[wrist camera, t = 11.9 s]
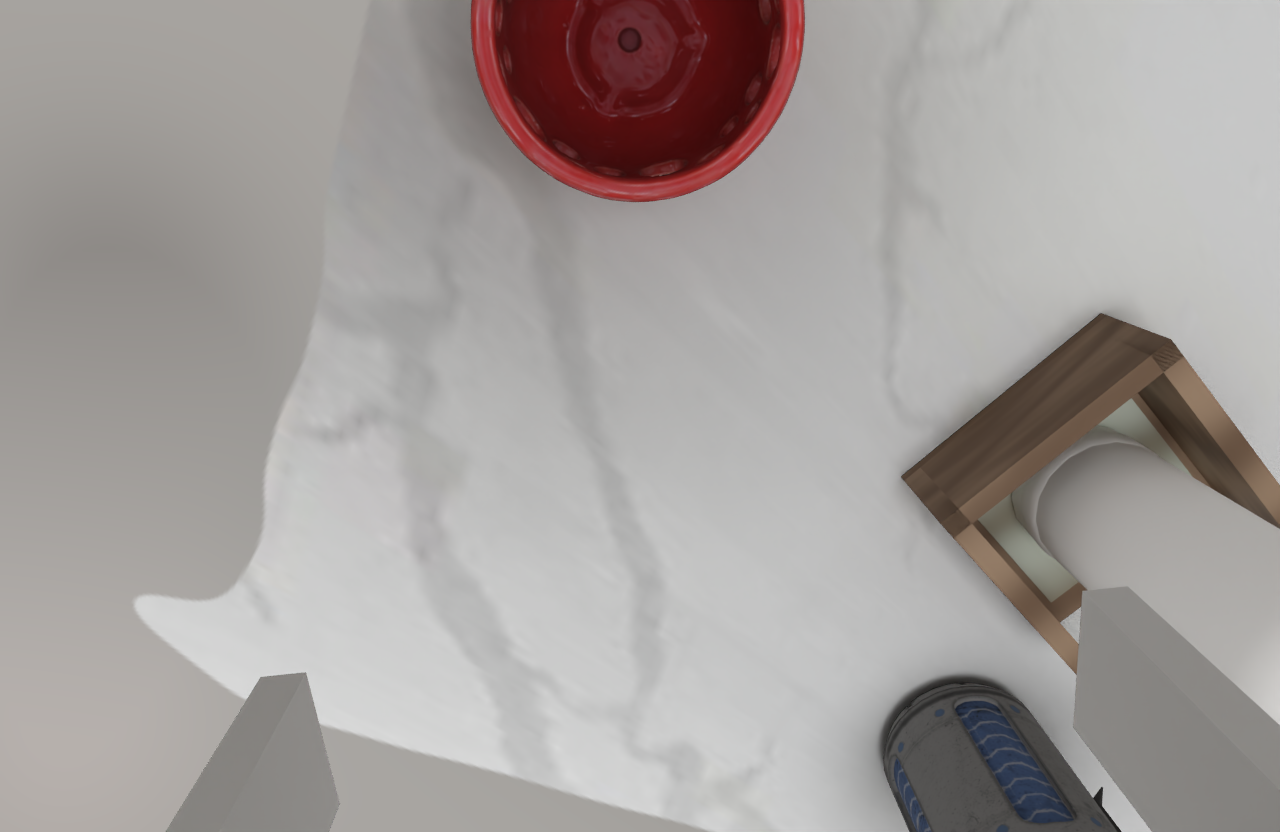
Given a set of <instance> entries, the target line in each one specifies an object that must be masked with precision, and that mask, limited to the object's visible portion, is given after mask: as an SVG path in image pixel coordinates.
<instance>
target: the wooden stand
mask: <svg viewBox="0 0 1280 832" xmlns="http://www.w3.org/2000/svg"><path fill="white" fill-rule="evenodd" d="M1095 426H1102V427H1108V428H1111V429H1112V430H1114V431H1116V432H1117V433H1120V434H1124V435H1126V436H1128V437H1130V438H1131V439H1133V440H1135V441H1136V442H1138V443H1140V444H1141V445H1143V446H1145V447H1146V448H1148V449H1149V450H1151V451H1153V452H1154V453H1156V454H1157V455H1158V456H1159V458H1161V459H1163V460H1165V461H1166V462H1168V463H1170V464H1171V465H1173V466H1175V467H1176V468H1178V469H1180V470H1181V471H1183V472H1185V473H1186V474H1188V475H1190V476H1191V477H1193V478H1195V479H1196V480H1198V481H1200V482H1202V483H1203V484H1205V485H1207V486H1208V487H1210V488H1212V489H1213V490H1215V491H1217V492H1218V493H1220V494H1222V495H1223V496H1225V497H1227V498H1228V499H1230V500H1232V501H1233V502H1235V503H1237V504H1239V505H1240V506H1242V507H1244V508H1245V509H1247V510H1249V511H1250V512H1252V513H1254V514H1255V515H1257V516H1259V517H1260V518H1262V519H1264V520H1265V521H1267V522H1269V523H1270V524H1272V525H1274V526H1275V527H1277V528H1279V529H1280V485H1279V484H1278V482H1277V481H1276V480H1275V478H1274V477H1273V475H1272V474H1271V473H1270V471H1269V470H1268V469H1267V467H1266V466H1265V465H1264V463H1263V462H1262V461H1261V459H1260V458H1259V457H1258V455H1257V454H1256V453H1255V451H1254V450H1253V449H1252V447H1251V446H1250V445H1249V443H1248V442H1247V441H1246V439H1245V438H1244V437H1243V435H1242V434H1241V433H1240V431H1239V430H1238V429H1237V427H1236V426H1235V425H1234V423H1233V422H1232V421H1231V419H1230V418H1229V416H1228V415H1227V414H1226V412H1225V411H1224V410H1223V408H1222V407H1221V406H1220V404H1219V403H1218V402H1217V400H1216V399H1215V398H1214V396H1213V395H1212V394H1211V392H1210V391H1209V390H1208V388H1207V387H1206V386H1205V384H1204V383H1203V382H1202V380H1201V379H1200V378H1199V376H1198V375H1197V374H1196V372H1195V371H1194V370H1193V368H1192V367H1191V366H1190V364H1189V363H1188V362H1187V360H1186V359H1185V357H1184V356H1183V355H1182V353H1181V352H1180V351H1179V349H1178V348H1177V347H1176V345H1175V344H1174V343H1173V341H1172V340H1171V339H1169V338H1166V337H1163V336H1160V335H1158V334H1155V333H1152V332H1150V331H1147V330H1144V329H1142V328H1139V327H1136V326H1134V325H1131V324H1128V323H1126V322H1123V321H1120V320H1118V319H1115V318H1112V317H1110V316H1107V315H1104V314H1102V313H1101V314H1100V315H1099V316H1097V317H1096V318H1095V319H1094V320H1092V321H1091V322H1090V323H1089V324H1087V325H1086V326H1085V327H1084V328H1083V329H1081V330H1080V331H1079V332H1078V333H1076V334H1075V335H1074V336H1073V337H1072V338H1070V339H1069V340H1068V341H1067V342H1065V343H1064V344H1063V345H1062V346H1061V347H1059V348H1058V349H1057V350H1056V351H1054V352H1053V353H1052V354H1051V355H1050V356H1048V357H1047V358H1046V359H1045V360H1043V361H1042V362H1041V363H1040V364H1038V365H1037V366H1036V367H1035V368H1034V369H1032V370H1031V371H1030V372H1029V373H1027V374H1026V375H1025V376H1024V377H1023V378H1021V379H1020V380H1019V381H1018V382H1016V383H1015V384H1014V385H1013V386H1012V387H1010V388H1009V389H1008V390H1007V391H1005V392H1004V393H1003V394H1002V395H1001V396H999V397H998V398H997V399H996V400H994V401H993V402H992V403H991V404H990V405H988V406H987V407H986V408H985V409H983V410H982V411H981V412H980V413H978V414H977V415H976V416H975V417H974V418H972V419H971V420H970V421H969V422H967V423H966V424H965V425H964V426H963V427H961V428H960V429H959V430H958V431H956V432H955V433H954V434H953V435H952V436H950V437H949V438H948V439H947V440H945V441H944V442H943V443H942V444H941V445H939V446H938V447H937V448H936V449H934V450H933V451H932V452H931V453H929V454H928V455H927V456H926V457H925V458H923V459H922V460H921V461H920V462H918V463H917V464H916V465H915V466H914V467H912V468H911V469H910V470H909V471H907V472H906V473H905V474H904V475H903V476H901V477H902V479H903V480H904V481H905V482H906V483H907V485H908V486H909V487H910V488H911V489H912V490H913V492H914V493H915V494H916V495H917V496H918V497H919V499H920V500H921V501H922V502H923V503H924V505H925V506H926V507H927V508H928V509H929V510H930V512H931V513H932V514H933V515H934V516H935V518H936V519H937V520H938V521H939V522H940V523H941V525H942V526H943V527H944V528H945V529H946V530H947V531H948V532H949V533H950V535H951V536H952V537H953V538H954V539H955V540H956V541H957V542H958V543H959V545H960V546H961V547H962V548H963V549H964V550H965V551H966V552H967V553H968V555H969V556H970V557H971V558H972V559H973V560H974V561H975V562H976V563H977V565H978V566H979V567H980V568H981V569H982V570H983V571H984V572H985V573H986V575H987V576H988V577H989V578H990V579H991V580H992V581H993V582H994V583H995V585H996V586H997V587H998V588H999V589H1000V590H1001V591H1002V592H1003V594H1004V595H1005V596H1006V597H1007V598H1008V599H1009V600H1010V601H1011V602H1012V604H1013V605H1014V606H1015V607H1016V608H1017V609H1018V610H1019V611H1020V612H1021V614H1022V615H1023V616H1024V617H1025V618H1026V619H1027V620H1028V621H1029V622H1030V624H1031V625H1032V626H1033V627H1034V628H1035V629H1036V630H1037V631H1038V632H1039V634H1040V635H1041V636H1042V637H1043V638H1044V639H1045V640H1046V641H1047V642H1048V644H1049V645H1050V646H1051V647H1052V648H1053V649H1054V650H1055V651H1056V652H1057V654H1058V655H1059V656H1060V657H1061V658H1062V659H1063V660H1064V661H1065V662H1066V664H1067V665H1068V666H1069V667H1070V668H1071V669H1072V670H1073V671H1074V672H1075V674H1076V675H1077V663H1078V648H1079V644H1078V643H1077V642H1076V641H1075V640H1074V638H1073V637H1072V636H1071V635H1070V634H1069V633H1068V632H1067V631H1066V629H1065V628H1064V627H1063V626H1062V625H1061V624H1060V622H1061V621H1062V620H1064V619H1065V618H1066V617H1068V616H1069V615H1070V614H1072V613H1073V612H1074V611H1076V610H1077V609H1078V608H1080V607H1081V604H1082V591H1087V589H1086V588H1085V587H1084V586H1083V585H1082V584H1081V583H1080V582H1079V581H1078V580H1077V579H1075V578H1074V577H1073V576H1072V575H1071V574H1070V573H1069V572H1068V571H1067V570H1066V569H1065V568H1064V567H1063V566H1062V565H1061V564H1060V563H1059V562H1058V561H1057V560H1056V559H1054V558H1052V557H1051V556H1049V555H1048V554H1047V553H1046V552H1045V551H1044V550H1043V549H1041V547H1040V546H1039V545H1038V544H1037V543H1036V541H1035V540H1034V539H1033V537H1032V536H1031V535H1030V534H1029V533H1028V532H1027V531H1026V530H1025V528H1024V527H1023V526H1022V524H1021V523H1020V522H1019V520H1018V519H1017V518H1016V514H1015V510H1014V506H1013V502H1012V492H1013V491H1014V490H1016V489H1017V488H1018V487H1019V486H1021V485H1022V484H1023V483H1024V482H1026V481H1027V480H1028V479H1030V478H1031V477H1032V476H1033V475H1035V474H1036V473H1037V472H1038V471H1040V470H1041V469H1042V468H1043V467H1045V466H1046V465H1047V464H1048V463H1050V462H1051V461H1052V460H1054V459H1055V458H1056V457H1057V456H1059V455H1060V454H1061V453H1062V452H1064V451H1065V450H1066V449H1067V448H1069V447H1070V446H1071V445H1073V444H1074V443H1075V442H1076V441H1078V440H1079V439H1080V438H1081V437H1083V436H1084V435H1085V434H1086V433H1088V432H1089V431H1090V430H1092V429H1093V428H1094V427H1095Z"/></svg>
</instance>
